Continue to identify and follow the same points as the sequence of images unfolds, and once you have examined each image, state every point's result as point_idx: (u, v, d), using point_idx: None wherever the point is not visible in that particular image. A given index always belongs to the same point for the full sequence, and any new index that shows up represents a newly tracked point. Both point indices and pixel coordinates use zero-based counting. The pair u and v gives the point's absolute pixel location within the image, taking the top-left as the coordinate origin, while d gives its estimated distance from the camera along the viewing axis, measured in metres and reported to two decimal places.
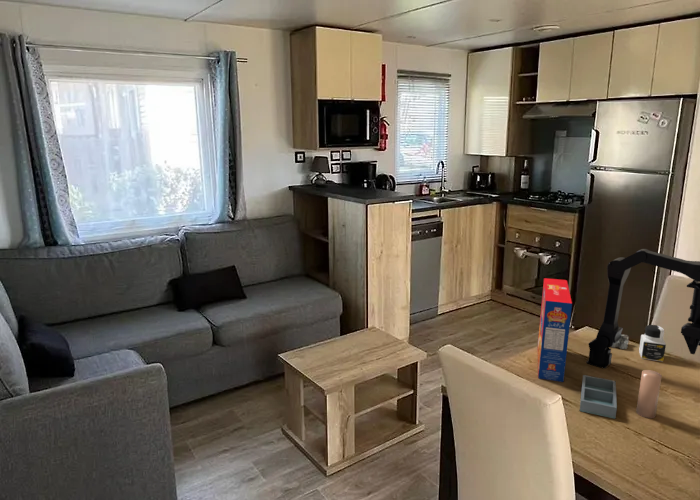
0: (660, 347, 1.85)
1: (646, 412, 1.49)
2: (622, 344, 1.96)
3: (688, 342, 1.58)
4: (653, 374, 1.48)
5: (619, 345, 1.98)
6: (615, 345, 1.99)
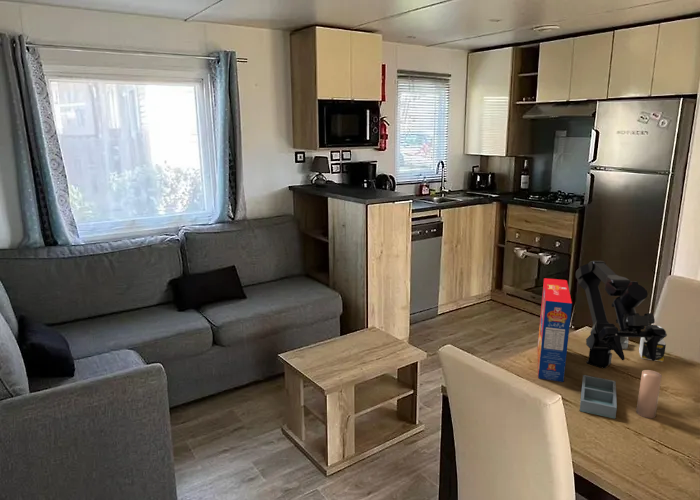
0: (660, 347, 1.85)
1: (646, 412, 1.49)
2: (622, 344, 1.97)
3: (614, 349, 1.60)
4: (653, 374, 1.48)
5: None
6: None
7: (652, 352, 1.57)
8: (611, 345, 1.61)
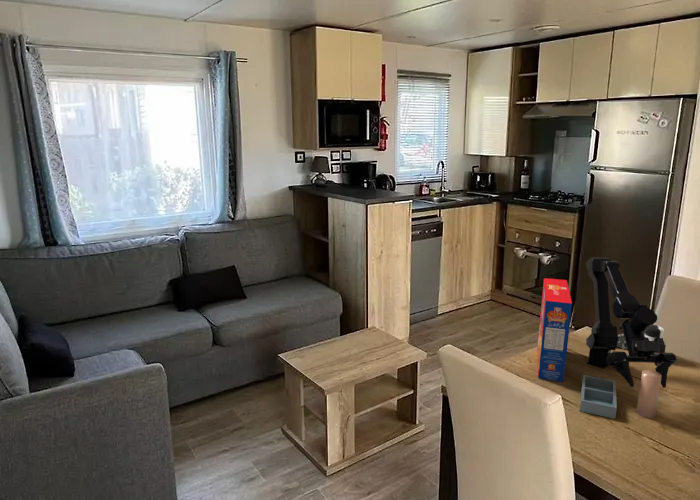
0: None
1: (646, 412, 1.49)
2: (623, 344, 1.97)
3: (623, 375, 1.54)
4: (653, 374, 1.48)
5: (620, 345, 1.98)
6: None
7: (662, 378, 1.51)
8: (619, 370, 1.55)
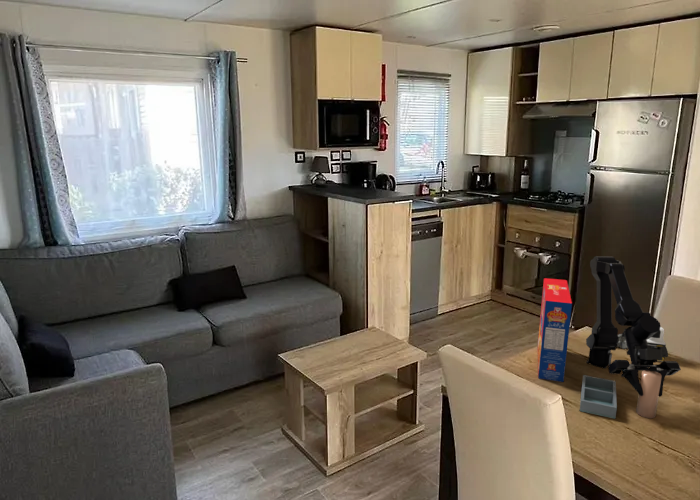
0: None
1: (646, 412, 1.49)
2: (623, 344, 1.97)
3: (632, 383, 1.52)
4: (653, 374, 1.48)
5: (620, 345, 1.98)
6: None
7: None
8: (628, 379, 1.53)
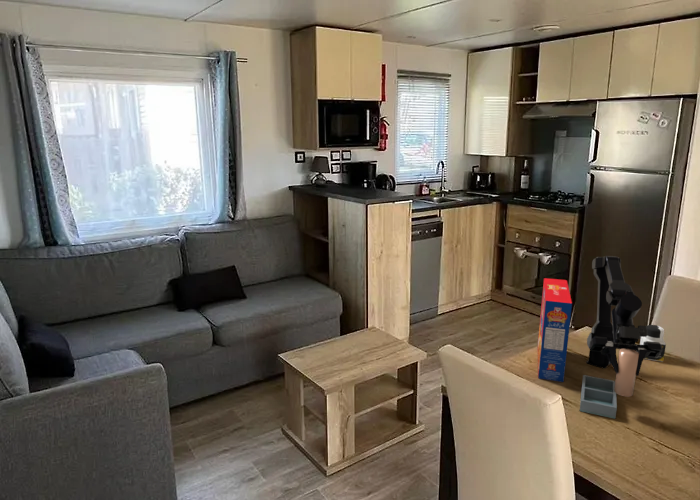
0: None
1: (622, 390, 1.49)
2: None
3: (610, 361, 1.53)
4: (631, 352, 1.48)
5: None
6: None
7: (637, 366, 1.49)
8: (608, 357, 1.54)
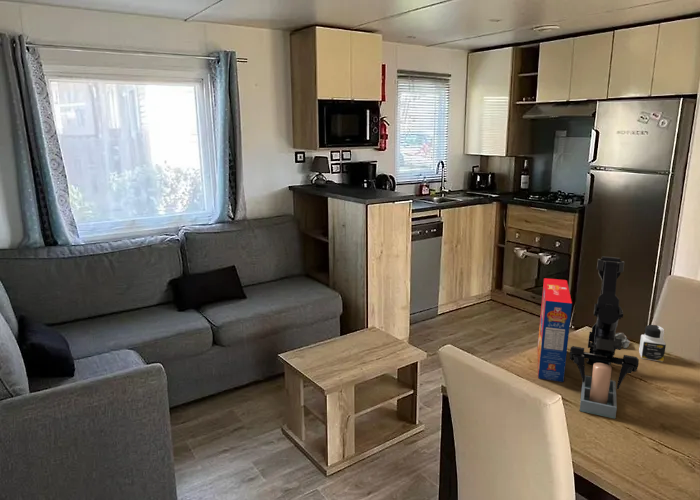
0: (660, 347, 1.85)
1: None
2: (625, 343, 1.97)
3: (580, 370, 1.57)
4: (604, 366, 1.52)
5: None
6: None
7: (618, 379, 1.51)
8: (578, 366, 1.58)
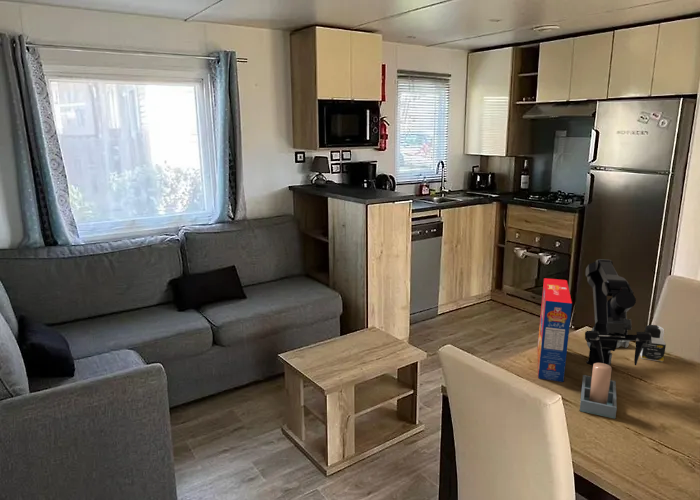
0: (660, 347, 1.85)
1: None
2: (626, 342, 1.98)
3: None
4: (604, 367, 1.52)
5: (622, 344, 1.99)
6: (619, 345, 1.99)
7: None
8: None
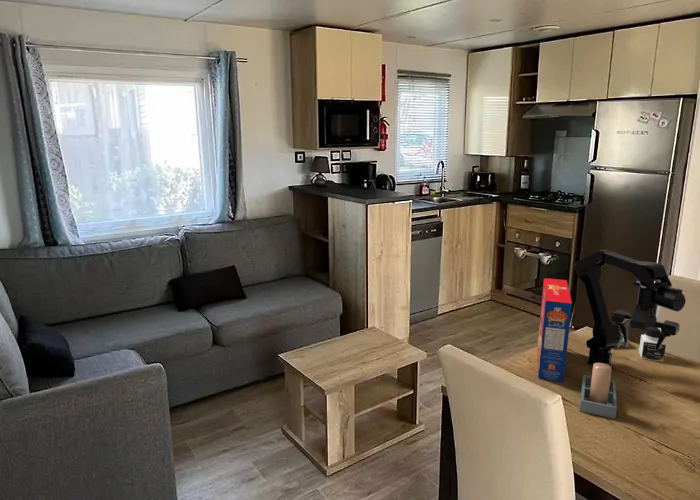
0: (660, 347, 1.85)
1: None
2: None
3: None
4: (604, 366, 1.52)
5: (622, 344, 1.99)
6: None
7: (657, 343, 1.64)
8: None
